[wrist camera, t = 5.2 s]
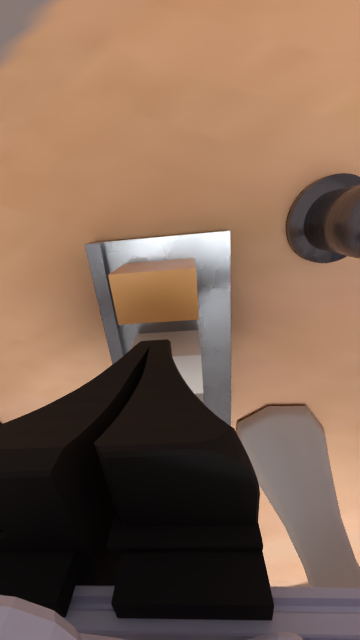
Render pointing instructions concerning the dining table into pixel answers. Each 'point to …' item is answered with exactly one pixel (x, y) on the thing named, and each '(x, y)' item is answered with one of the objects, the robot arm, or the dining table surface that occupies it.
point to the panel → (211, 324)
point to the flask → (301, 490)
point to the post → (326, 219)
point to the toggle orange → (155, 291)
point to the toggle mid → (182, 354)
